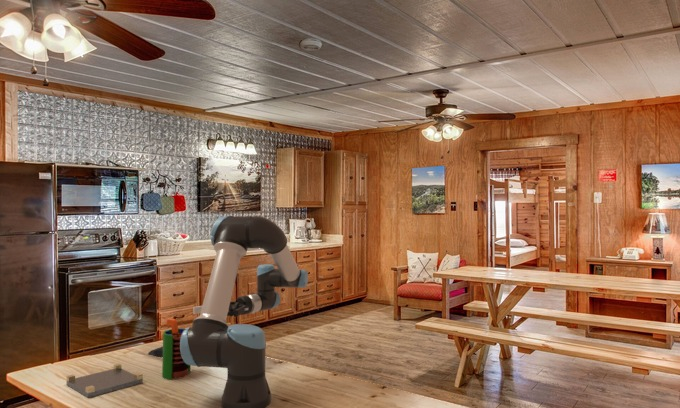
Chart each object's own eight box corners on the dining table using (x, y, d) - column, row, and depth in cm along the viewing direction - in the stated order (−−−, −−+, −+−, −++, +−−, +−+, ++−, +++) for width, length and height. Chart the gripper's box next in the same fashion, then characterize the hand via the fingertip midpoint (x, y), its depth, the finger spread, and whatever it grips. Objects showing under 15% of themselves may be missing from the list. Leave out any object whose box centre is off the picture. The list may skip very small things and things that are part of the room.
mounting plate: (142, 382, 168) (142, 374, 168) (88, 398, 154) (88, 388, 154) (118, 371, 180) (119, 363, 180) (66, 384, 166) (66, 376, 166)
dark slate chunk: (206, 345, 216) (206, 335, 216) (174, 360, 195) (174, 348, 195) (178, 342, 221) (178, 332, 221) (143, 356, 200) (143, 345, 200)
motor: (179, 380, 170) (179, 323, 171) (156, 378, 172) (156, 322, 172) (193, 371, 180) (193, 317, 181) (171, 369, 182) (172, 316, 182)
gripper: (267, 318, 193) (222, 328, 177) (229, 309, 210) (185, 318, 194) (267, 299, 193) (222, 307, 177) (229, 292, 210) (185, 299, 194)
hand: (203, 313), depth 185 cm, fingers open, 13 cm apart
